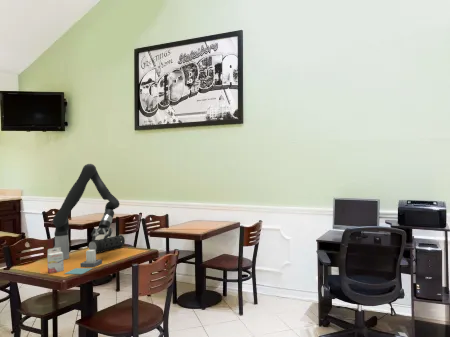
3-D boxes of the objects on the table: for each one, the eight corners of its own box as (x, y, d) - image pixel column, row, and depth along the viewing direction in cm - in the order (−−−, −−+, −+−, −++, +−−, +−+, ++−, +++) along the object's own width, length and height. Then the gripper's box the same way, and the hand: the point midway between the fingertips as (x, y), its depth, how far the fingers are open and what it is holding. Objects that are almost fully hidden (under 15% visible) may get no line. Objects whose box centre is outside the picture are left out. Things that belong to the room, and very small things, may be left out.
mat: (64, 274, 227) (64, 273, 227) (75, 268, 239) (75, 268, 239) (81, 274, 225) (81, 273, 225) (92, 268, 237) (92, 268, 237)
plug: (86, 266, 245) (85, 251, 245) (90, 264, 249) (89, 249, 250) (92, 266, 244) (92, 251, 244) (96, 264, 249) (95, 249, 249)
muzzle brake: (125, 247, 301) (124, 235, 301) (95, 255, 278) (95, 241, 278) (118, 246, 306) (117, 234, 306) (88, 253, 284) (87, 240, 284)
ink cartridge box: (49, 273, 230) (48, 250, 230) (47, 272, 234) (46, 249, 234) (64, 270, 236) (63, 247, 236) (61, 269, 240) (60, 246, 240)
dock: (80, 267, 243) (80, 263, 243) (88, 263, 253) (88, 259, 253) (94, 267, 241) (94, 263, 241) (102, 263, 251) (101, 259, 251)
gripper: (94, 219, 267) (86, 238, 256) (112, 219, 264) (105, 238, 253) (98, 225, 272) (91, 244, 261) (116, 225, 270) (109, 244, 258)
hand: (98, 241), depth 257 cm, fingers open, 8 cm apart
